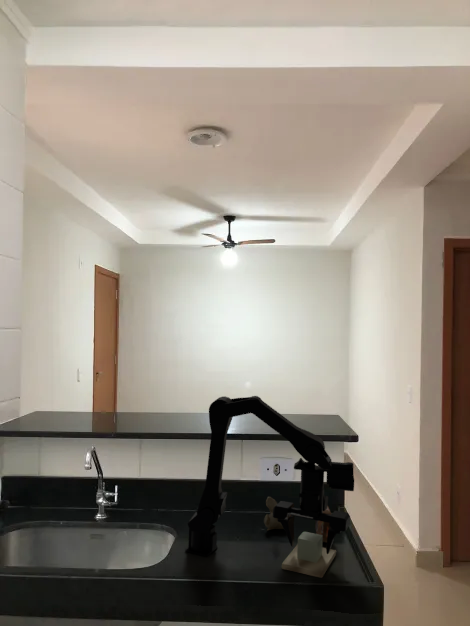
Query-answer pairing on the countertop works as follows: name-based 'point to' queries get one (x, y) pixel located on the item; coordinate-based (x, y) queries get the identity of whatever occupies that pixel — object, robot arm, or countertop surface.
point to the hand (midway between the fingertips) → (309, 549)
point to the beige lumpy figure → (271, 516)
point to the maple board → (309, 563)
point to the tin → (323, 526)
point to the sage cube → (309, 547)
